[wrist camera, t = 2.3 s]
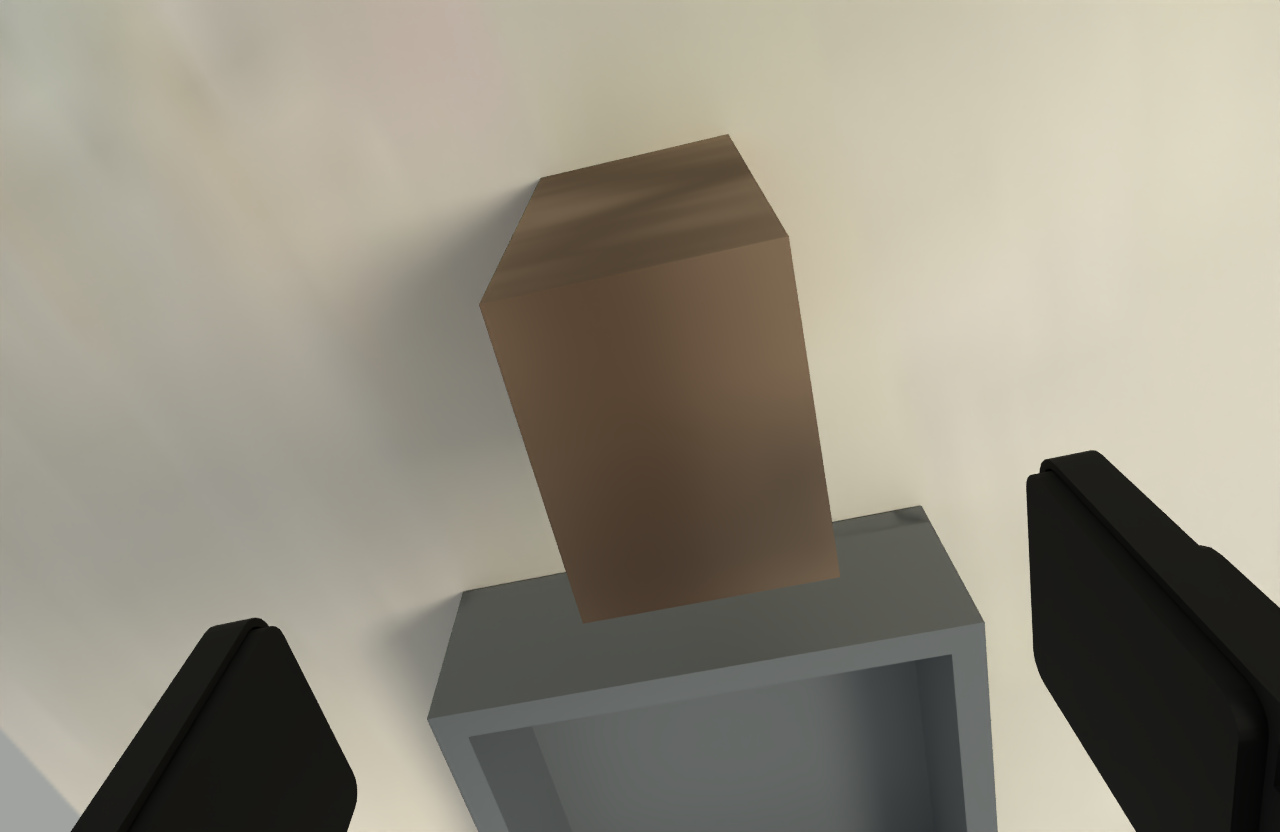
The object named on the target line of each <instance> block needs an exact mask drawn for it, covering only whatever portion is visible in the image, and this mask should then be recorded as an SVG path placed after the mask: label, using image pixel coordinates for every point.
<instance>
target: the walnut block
mask: <svg viewBox="0 0 1280 832" xmlns="http://www.w3.org/2000/svg"><path fill="white" fill-rule="evenodd" d="M479 306H480V309H481V312H482V315H483V318H484V321H485V324H486V327H487V330H488V333H489V336H490V340H491V343H492V346H493V349H494V352H495V355H496V358H497V361H498V364H499V367H500V370H501V373H502V376H503V380H504V383H505V386H506V389H507V392H508V395H509V398H510V401H511V404H512V407H513V410H514V413H515V416H516V419H517V423H518V426H519V429H520V432H521V435H522V438H523V441H524V444H525V447H526V450H527V453H528V456H529V459H530V462H531V466H532V469H533V472H534V475H535V478H536V481H537V484H538V487H539V490H540V493H541V496H542V499H543V502H544V506H545V509H546V512H547V515H548V518H549V521H550V524H551V527H552V530H553V533H554V536H555V539H556V542H557V545H558V549H559V552H560V555H561V558H562V561H563V564H564V567H565V570H566V573H567V576H568V579H569V582H570V585H571V588H572V592H573V595H574V598H575V601H576V604H577V607H578V610H579V613H580V616H581V619H582V622H583V624H585V623H590V622H596V621H601V620H607V619H612V618H618V617H623V616H629V615H634V614H640V613H645V612H651V611H656V610H662V609H667V608H673V607H678V606H684V605H689V604H695V603H700V602H706V601H711V600H717V599H722V598H728V597H733V596H739V595H744V594H750V593H755V592H761V591H766V590H772V589H777V588H783V587H788V586H794V585H799V584H805V583H811V582H816V581H822V580H827V579H833V578H838V577H840V571H839V565H838V558H837V551H836V545H835V538H834V532H833V525H832V519H831V512H830V505H829V499H828V492H827V486H826V479H825V473H824V466H823V459H822V453H821V446H820V440H819V433H818V427H817V420H816V413H815V407H814V400H813V394H812V387H811V381H810V374H809V367H808V361H807V354H806V348H805V341H804V335H803V328H802V322H801V315H800V308H799V302H798V295H797V289H796V282H795V276H794V269H793V262H792V256H791V249H790V243H789V236H788V235H787V233H786V231H785V229H784V228H783V226H782V224H781V223H780V221H779V219H778V218H777V216H776V214H775V213H774V211H773V209H772V207H771V206H770V204H769V202H768V201H767V199H766V197H765V196H764V194H763V192H762V191H761V189H760V187H759V186H758V184H757V182H756V180H755V179H754V177H753V175H752V174H751V172H750V170H749V169H748V167H747V165H746V164H745V162H744V160H743V158H742V157H741V155H740V153H739V152H738V150H737V148H736V147H735V145H734V143H733V142H732V140H731V138H730V136H729V135H728V134H727V135H723V136H718V137H714V138H710V139H706V140H701V141H697V142H693V143H688V144H684V145H680V146H676V147H671V148H667V149H663V150H658V151H654V152H650V153H646V154H641V155H637V156H633V157H629V158H624V159H620V160H616V161H611V162H607V163H603V164H599V165H594V166H590V167H586V168H581V169H577V170H573V171H569V172H564V173H560V174H556V175H552V176H547V177H543V178H541V179H540V181H539V183H538V185H537V187H536V189H535V191H534V193H533V195H532V197H531V199H530V201H529V203H528V205H527V207H526V209H525V212H524V214H523V216H522V218H521V220H520V222H519V224H518V226H517V228H516V230H515V232H514V234H513V236H512V238H511V240H510V242H509V244H508V246H507V248H506V250H505V253H504V255H503V257H502V259H501V261H500V263H499V265H498V267H497V269H496V271H495V273H494V275H493V277H492V279H491V281H490V283H489V285H488V287H487V289H486V291H485V294H484V296H483V298H482V300H481V302H480V304H479Z"/></svg>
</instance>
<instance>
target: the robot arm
mask: <svg viewBox="0 0 1280 832" xmlns="http://www.w3.org/2000/svg"><path fill="white" fill-rule="evenodd" d="M1026 492H1027V515H1028V538H1029V561H1030V584H1031V607H1032V630H1033V651H1034V657H1035V662H1036V665H1037V668H1038V671H1039V674H1040V676H1041V678H1042V680H1043V682H1044V684H1045V686H1046V687H1047V689H1048V690H1049V692H1050V694H1051V695H1052V697H1053V698H1054V700H1055V702H1056V703H1057V705H1058V707H1059V708H1060V710H1061V711H1062V713H1063V715H1064V716H1065V718H1066V719H1067V721H1068V723H1069V724H1070V726H1071V727H1072V729H1073V731H1074V732H1075V734H1076V736H1077V737H1078V739H1079V740H1080V742H1081V744H1082V745H1083V747H1084V748H1085V750H1086V752H1087V753H1088V755H1089V756H1090V758H1091V760H1092V761H1093V763H1094V765H1095V766H1096V768H1097V769H1098V771H1099V773H1100V774H1101V776H1102V777H1103V779H1104V781H1105V782H1106V784H1107V785H1108V787H1109V789H1110V790H1111V792H1112V794H1113V795H1114V797H1115V798H1116V800H1117V802H1118V803H1119V805H1120V806H1121V808H1122V810H1123V811H1124V813H1125V815H1126V816H1127V818H1128V819H1129V821H1130V823H1131V824H1132V826H1133V827H1134V829H1135V831H1136V832H1280V608H1279V607H1278V606H1277V605H1276V604H1275V603H1274V602H1273V601H1271V600H1270V599H1269V598H1268V597H1267V596H1266V595H1265V594H1264V593H1263V592H1262V591H1261V590H1259V589H1258V588H1257V587H1256V586H1255V585H1254V584H1253V583H1252V582H1251V581H1250V580H1249V579H1247V578H1246V577H1245V576H1244V575H1243V574H1242V573H1241V572H1240V571H1239V570H1238V569H1237V568H1235V567H1234V566H1233V565H1232V564H1231V563H1230V562H1229V561H1228V560H1227V559H1226V558H1225V557H1223V556H1222V555H1221V554H1220V553H1218V552H1217V551H1215V550H1214V549H1212V548H1211V547H1206V546H1202V545H1198V544H1197V543H1196V542H1195V541H1194V540H1193V539H1192V538H1190V537H1189V536H1188V535H1187V534H1186V533H1185V532H1184V531H1183V530H1182V529H1181V528H1180V527H1179V526H1178V525H1177V524H1175V523H1174V522H1173V521H1172V520H1171V519H1170V518H1169V517H1168V516H1167V515H1166V514H1165V513H1164V512H1163V511H1162V510H1161V509H1159V508H1158V507H1157V506H1156V505H1155V504H1154V503H1153V502H1152V501H1151V500H1150V499H1149V498H1148V497H1147V496H1146V495H1144V494H1143V493H1142V492H1141V491H1140V490H1139V489H1138V488H1137V487H1136V486H1135V485H1134V484H1133V483H1132V482H1131V481H1130V480H1128V479H1127V478H1126V477H1125V476H1124V475H1123V474H1122V473H1121V472H1120V471H1119V470H1118V469H1117V468H1116V467H1115V466H1114V465H1112V464H1111V463H1110V462H1109V461H1108V460H1107V459H1106V458H1105V457H1104V456H1103V455H1102V454H1100V453H1099V452H1097V451H1094V450H1090V451H1085V452H1080V453H1075V454H1070V455H1065V456H1060V457H1055V458H1050V459H1045V460H1044V461H1043V462H1042V463H1041V467H1040V473H1038V474H1033V475H1030V476H1029V477H1028V479H1027V483H1026ZM356 802H357V784H356V779H355V776H354V774H353V772H352V770H351V768H350V766H349V764H348V762H347V760H346V758H345V756H344V754H343V752H342V750H341V748H340V746H339V744H338V742H337V740H336V738H335V736H334V734H333V732H332V730H331V728H330V726H329V724H328V722H327V720H326V718H325V716H324V714H323V712H322V710H321V708H320V706H319V704H318V702H317V700H316V698H315V696H314V694H313V692H312V690H311V688H310V686H309V684H308V682H307V680H306V678H305V676H304V674H303V672H302V670H301V668H300V666H299V664H298V662H297V660H296V658H295V656H294V655H293V653H292V651H291V649H290V647H289V645H288V643H287V641H286V639H285V637H284V635H283V633H282V632H281V630H280V629H278V628H277V627H275V626H268V624H267V623H266V622H265V621H263V620H262V619H260V618H251V619H246V620H241V621H236V622H231V623H226V624H221V625H216V626H213V627H211V628H209V629H208V630H207V631H206V632H205V633H204V635H203V636H202V638H201V639H200V641H199V642H198V644H197V645H196V647H195V648H194V650H193V651H192V653H191V654H190V656H189V657H188V659H187V660H186V662H185V663H184V665H183V666H182V668H181V669H180V671H179V672H178V673H177V675H176V676H175V678H174V679H173V681H172V682H171V684H170V685H169V687H168V688H167V690H166V691H165V693H164V694H163V696H162V697H161V699H160V700H159V702H158V703H157V705H156V706H155V708H154V709H153V711H152V712H151V713H150V715H149V716H148V718H147V719H146V721H145V722H144V724H143V725H142V727H141V728H140V730H139V731H138V733H137V734H136V736H135V737H134V739H133V740H132V742H131V743H130V745H129V746H128V748H127V749H126V751H125V752H124V753H123V755H122V756H121V758H120V759H119V761H118V762H117V764H116V765H115V767H114V768H113V770H112V771H111V773H110V774H109V776H108V777H107V779H106V780H105V782H104V783H103V785H102V786H101V788H100V789H99V791H98V792H97V793H96V795H95V796H94V798H93V799H92V801H91V802H90V804H89V805H88V807H87V808H86V810H85V811H84V813H83V814H82V816H81V817H80V819H79V820H78V822H77V823H76V825H75V826H74V828H73V829H72V831H71V832H347V830H348V827H349V824H350V821H351V818H352V815H353V812H354V809H355V806H356Z"/></svg>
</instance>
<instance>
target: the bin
mask: <svg viewBox="0 0 1280 832" xmlns="http://www.w3.org/2000/svg"><path fill="white" fill-rule="evenodd" d="M832 525H833V532H834V538H835V545H836V551H837V558H838V565H839V571H840V577H838V578H833V579H827V580H822V581H816V582H811V583H805V584H799V585H794V586H788V587H783V588H777V589H772V590H766V591H761V592H755V593H750V594H744V595H739V596H733V597H728V598H722V599H717V600H711V601H706V602H700V603H695V604H689V605H684V606H678V607H673V608H667V609H662V610H656V611H651V612H645V613H640V614H634V615H629V616H623V617H618V618H612V619H607V620H601V621H596V622H590V623H585V624H583V622H582V619H581V616H580V613H579V610H578V607H577V604H576V601H575V598H574V595H573V592H572V588H571V585H570V582H569V579H568V576H567V573H562V574H557V575H551V576H546V577H541V578H535V579H530V580H525V581H519V582H514V583H509V584H503V585H498V586H493V587H487V588H482V589H477V590H472V591H466V592H463V594H462V598H461V602H460V605H459V609H458V612H457V616H456V619H455V623H454V626H453V630H452V633H451V637H450V640H449V644H448V647H447V651H446V654H445V658H444V661H443V665H442V668H441V672H440V676H439V679H438V683H437V686H436V690H435V693H434V697H433V700H432V704H431V707H430V711H429V714H428V718H427V720H428V722H429V725H430V727H431V729H432V731H433V733H434V735H435V738H436V740H437V742H438V744H439V746H440V749H441V751H442V753H443V755H444V757H445V760H446V762H447V764H448V766H449V768H450V771H451V773H452V775H453V777H454V779H455V781H456V784H457V786H458V788H459V790H460V792H461V795H462V797H463V799H464V801H465V803H466V806H467V808H468V810H469V812H470V814H471V817H472V819H473V821H474V823H475V825H476V827H477V830H478V832H998V830H997V814H996V798H995V782H994V766H993V750H992V734H991V718H990V702H989V686H988V670H987V654H986V638H985V622H984V620H983V618H982V617H981V615H980V613H979V611H978V609H977V607H976V606H975V604H974V602H973V600H972V598H971V596H970V594H969V593H968V591H967V589H966V587H965V585H964V583H963V582H962V580H961V578H960V576H959V574H958V572H957V570H956V569H955V567H954V565H953V563H952V561H951V559H950V558H949V556H948V554H947V552H946V550H945V548H944V546H943V545H942V543H941V541H940V539H939V537H938V535H937V534H936V532H935V530H934V528H933V526H932V524H931V522H930V521H929V519H928V517H927V515H926V513H925V511H924V510H923V508H922V506H918V507H913V508H907V509H902V510H897V511H891V512H886V513H881V514H875V515H870V516H865V517H860V518H854V519H849V520H844V521H838V522H833V523H832Z"/></svg>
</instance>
